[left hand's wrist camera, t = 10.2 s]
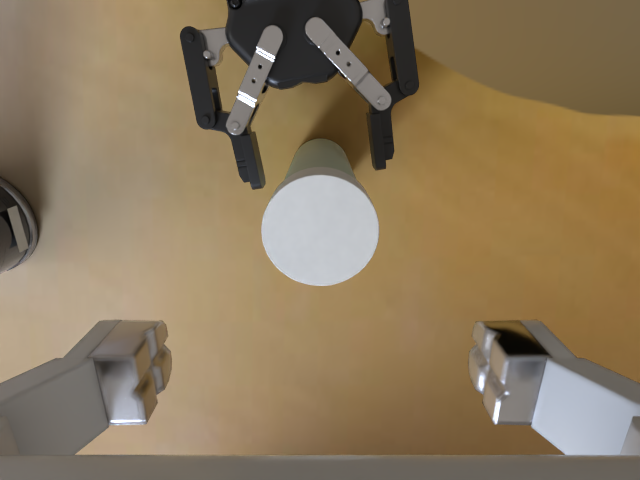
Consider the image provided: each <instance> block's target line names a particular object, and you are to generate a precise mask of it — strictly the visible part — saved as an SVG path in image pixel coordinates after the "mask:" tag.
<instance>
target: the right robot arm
mask: <svg viewBox="0 0 640 480" xmlns="http://www.w3.org/2000/svg"><path fill="white" fill-rule="evenodd" d="M227 5H228V20H227V24H226V27H224V28H215V29H206V30H197V29H195V28H193V27H191V26H188V27H185V28H183V29H182V31H181V33H180V40H181V45H182V50H183V55H184V60H185V65H186V70H187V75H188V80H189V85H190V90H191V95H192V100H193V105H194V110H195V115H196V120H197V123H198V125H199V126H200V127H201V128H203V129H211V130H217V131H222V132H224V133H226V134H227V135H228V136H229V137H230V139H231V141H232V145H233V150H234V154H235V158H236V162H237V167H238V171H239V175H240V177H241V179H242V180H243V182H250V184H251V187H252V189H253V190H254V189H260V188H263V187H264V185H265V175H264V171H263V166H262V161H261V156H260V152H259V147H258V142H257V138H256V133H255V132H252V131H251V127H250V126H251V124H252V122H253V120H254V118H255V115H256V113H257V111H258V109H259V107H260V105H261V103H262V102H263V100H264V98H265V95H266V93H267V91H268V89H269V87H270V86H271V87H273V88H277V89H280V90H283V89H289V88H294V87H296V86H298V85H300V84H302V83H314V84H317V83H323V82H327V81H328V80H330V79H332V78H333V77H334V76H335V75H336V74H337V73H338V74H339V75H340V76H341V77H342V78H343V79H344V80H345V81H346V82H347V83H348V84H349V85H350V86H351V87H352V88H353V89H354V90H355V91H356V92H357V93H358V94H359V95H360V96H361V97H362V98H363V99H364V101H365V102H366V103H367V104H368V105H369V113H366V116H367V125H368V133H369V142H370V150H371V159H372V165H373V168H374V169H375V170H381V169H386V161H385V160H389V159H392V157H393V154H394V144H393V133H392V123H391V109H392V107H393V106H394V104H395V103H397V102H398V101H400V100H402V99H404V98H405V97H407V96H409V95H413V94H414V93H416V91H417V90H418V87H419V80H418V72H417V65H416V57H415V49H414V42H413V34H412V27H411V19H410V11H409V4H408V0H367V1H363V2H359V1H358V0H227ZM362 21H367V22H369V23H370V24H371V25H372V27H373V30H374V32H375V34H376V35H378V36H381V37H383V36H385V38H386V44H387V51H388V57H389V64H390V71H391V77H392V82H390V83H388V84H387V85H385V86H383V87H382V85H381V84H380V83H379V82H378V81H377V80H376V79H375V78H374V77H373V76H372V75H371V74H370V72H369V71H368V69H367V68H366V67H365V66H364V65H363V64H362V63H361V61H360V60H359V59H358V58H357V57H356V56H355V55H354V54H353V53H352V52H351V51H350V50H349V49H350V46H351V44H352V42H353V40H354V38H355V36H356V34H357V32H358V30H359V28H360V26H361V23H362ZM227 46H230V47H231V48H232V49H233V50H234V51H235V52H236V53H237V54H238V55H239V56H240V57H241V58H242V60H243V61H244V62H245V63H246V64H247V65H248V66H249V67H248V70H247V72H246V74H245V77H244V79H243V81H242V84H241V86H240V88H239V91H238V96H237V99H236V101H235V103H234V106H233V108H232V110H231V112H227V111H223V110H222V104H221V99H220V93H219V87H218V82H217V76H216V70H215V67H217V66H219V65H220V64H221V63H222V60H223V51H224V49H225V48H226V47H227ZM37 238H38V228H37V222H36V219H35V216H34V213H33V211H32V209H31V207H30V206H29V204H28V202H27V201H26V200H25V198H24V197H23V196H22V195H21V194H20V193H19V192H18V191H17V190H16V189H15V188H14V187H13V186H12V185H10V184H9V183H8V182H6V181H5V180H3V179H1V178H0V274H1V273H3V272H5V271H8V270H10V269H12V268H14V267H16V266H18V265H20V264H21V263H23V262H24V261H26V260H27V259H28V258H29V257H30V255H31V254H32V253H33V251H34V249H35V247H36V243H37Z"/></svg>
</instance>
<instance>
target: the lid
mask: <svg viewBox="0 0 640 480" xmlns="http://www.w3.org/2000/svg"><path fill="white" fill-rule="evenodd" d="M378 238H379V221H378V217H377V213H376V211H375V208H374V206H373V204H372V202H371V200H370V197H369V195H368V194H367V192H366V190H365V189H364V188H363V186H362V185H361V184H360V183H359V182H358V181H357V180H356V179H354V178H353V177H352V176H350V175H348V174H347V173H345V172H343V171H340V170H337V169H334V168H329V167H312V168H307V169H304V170H300V171H298V172H296V173H294V174H292V175H291V176H289V177H288V178H286V179H285V180H284V181H283V182H282V183H281V184H280V185H279V186H278V187H277V189H276V190H275V192H274V193H273V195H272V197H271V199H270V201H269V203H268V206H267V208H266V210H265V213H264V216H263V221H262V240H263V244H264V247H265V250H266V252H267V254H268V256H269V258H270V259H271V261H272V262H273V264H274V265H275V266H276V267H277V268H278V269H279V270H280V271H281V272H282V273H284V274H285V275H287V276H288V277H290V278H291V279H294V280H296V281H298V282H301V283H304V284H308V285H316V286H326V285H333V284H337V283H340V282H343V281H345V280H347V279H349V278H351V277H353V276H354V275H356V274H357V273H358V272H360V271H361V270H362V269H363V268H364V267H365V266H366V264H367V263H368V262H369V261H370V259H371V257H372V256H373V254H374V252H375V250H376V247H377V243H378Z"/></svg>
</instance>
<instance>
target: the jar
mask: <svg viewBox="0 0 640 480" xmlns="http://www.w3.org/2000/svg"><path fill="white" fill-rule="evenodd" d="M312 167H329V168H334V169H337V170H340V171H343V172H345V173H347V174H348V175H350V176H352V177H353V178H354V179H356V178H355V175H354V173H353V171H352V168H351V166H350V163H349V161H348V158H347V156H346V154H345V152H344V150H343V149H342V148H341V147H340V146H339V145H338V144H336V143H335V142H333V141H331V140H328V139H322V138H319V139H313V140H310V141H308V142H306V143H304V144H303V145H302V146H301V147H300V148H299V149H298V150H297V152H296V154H295V156H294V158H293V160H292V163H291V165H290V168H289V170H288V172H287V175H286V177H285V179H286V178H288V177H289V176H291V175H292V174H294V173H296V172H298V171H300V170H304V169H307V168H312Z"/></svg>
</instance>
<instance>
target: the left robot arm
mask: <svg viewBox="0 0 640 480" xmlns="http://www.w3.org/2000/svg"><path fill="white" fill-rule="evenodd" d="M167 337H168V332H167V327H166V324H165V323H164V322H163V321H146V320H102V321H99V322H98V323H97V324H96V325H95V326H94V327H93V328H92V329H91V330H90V331H89V332H88V333H87V334H86V335H85V336H84V337H83V338H82V339H81V340H80V341H79V342H78V343H77V344H76V345H75V346H74V347H73V348H72V349H71V350H70V351H69V352H68V353H67V354H66V355H65V356H64V357H63V358H55V359H53V360H51V361H49V362H47V363H44V364H42V365H40V366H38V367H35V368H33V369H31V370H29V371H27V372H24V373H22V374H20V375H18V376H16V377H13V378H11V379H9V380H7V381H5V382H2V383H0V480H640V383H638V382H635V381H633V380H631V379H629V378H627V377H624V376H622V375H620V374H618V373H615V372H613V371H611V370H609V369H607V368H604V367H602V366H600V365H598V364H596V363H593V362H591V361H589V360H587V359H585V358H577V357H576V356H575V355H574V354H573V353H572V352H571V351H570V350H569V349H568V348H567V347H566V346H565V345H564V344H563V343H562V342H561V341H560V340H559V339H558V338H557V337H556V336H555V335H554V334H553V333H552V332H551V331H550V330H549V329H548V328H547V327H546V326H545V325H544V324H543V323H542V322H541V321H538V320H513V321H477V322H475V324H474V327H473V331H472V337H473V339H474V341H475V342H476V345H475V346H474V347H473V348H472V349H471V350H470V351H469V359H468V368H469V375H470V379H471V382H472V384H473V386H474V388H475V390H477V391H478V392H480V393H481V394H483V395H484V396H483V402H482V403H483V405H484V407H485V409H486V411H487V412H488V414H489V416H490V418H491V420H492V422H493V424H504V425H531V427H532V428H533V429H534V430H536V431H537V432H538V433H539V434H541V435H542V436H543V437H544V438H546V439H547V440H548V441H549V442H551V443H552V444H553V445H554V446H556V447H557V448H558V449H559V450H561V451H562V452H563V453H564V454H566V455H75V454H76V453H77V452H78V451H80V450H81V449H82V448H83V447H85V446H86V445H87V444H88V443H90V442H91V441H92V440H93V439H95V438H96V437H97V436H98V435H100V434H101V433H102V432H103V431H105V430H106V429H107V428H108V427H109V426H108V425H135V424H147V422H148V420H149V418H150V416H151V414H152V413H153V411H154V409H155V407H156V405H157V403H158V402H157V396H156V395H157V394H159V393H160V392H162V391H163V390H165V388H166V386H167V384H168V382H169V379H170V374H171V370H172V357H171V351H170V350H169V349H168V348H167V347H166V346H165V345H164V342H165V341H166V339H167Z"/></svg>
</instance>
